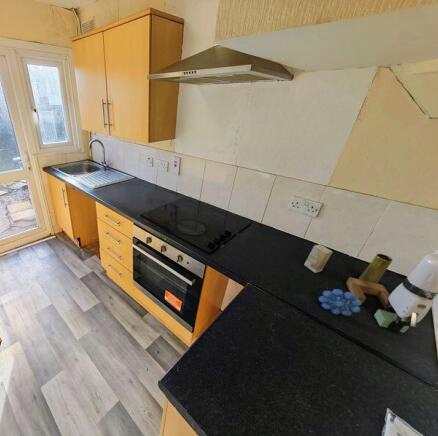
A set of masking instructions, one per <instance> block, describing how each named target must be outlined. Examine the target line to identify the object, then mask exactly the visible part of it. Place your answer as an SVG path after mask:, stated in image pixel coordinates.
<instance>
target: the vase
mask: <svg viewBox="0 0 438 436" xmlns="http://www.w3.org/2000/svg"><path fill="white" fill-rule="evenodd" d="M392 263H393V258H392V257H391V256H390V255H387V254H384V253H376V254H375V256H374V257H373V259H372V261H370V263H369V264H368V265H367V267H366V268H365V270H364V271H363V272H362V274H361V275H360V276H359V277H358V279H360V280H364V281H368V282H372V283H376V284H379V282H380V280H381V279H382V277H383V276H384V274H385V272H386V271H387V269H388V268H389V267H390V265H391V264H392Z"/></svg>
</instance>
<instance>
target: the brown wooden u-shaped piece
mask: <svg viewBox="0 0 438 436" xmlns="http://www.w3.org/2000/svg"><path fill="white" fill-rule="evenodd" d="M345 284H346V286H347V289H348V290H349V292H351V293H353V294H354V296H355V297H354V298H356V299H359V300H360V301H361V303H362V304H364V302H365V301H366V299H367V297H366V296H365V294H367V295H371V296H374V297H377V299H378V300H379V302H380V304H381V305H382V307H383V309H385V308H386V305H387V304H388V295H389V294H390V293H389V292H388V290H387V289H386V287H385V285H384V284H380V283H377V284H376V283H372V282H368V281H364V280H360V279H359V278H355V277H351V276H349V277H348V278H347V280H346V282H345Z"/></svg>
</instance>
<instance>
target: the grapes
mask: <svg viewBox="0 0 438 436" xmlns="http://www.w3.org/2000/svg"><path fill="white" fill-rule="evenodd" d="M354 297H355V296H354V294H353V293H351V292H350V291H346V292H344V291H343V290H342V289H339V288H335V289H333V290H332V291H331V290H323V292H322V295H321V296H319V297H318V301H319V302H320V303H321V307H322V309H324V310H329V311H330V313H331V314H332V315H340V314H342V315H343V316H345V317H349V316H351V315H353V313H355V314H356V313H360V312H361V307H360V306H361V305H363V303H361V301H360V300H359V299H356V298H354Z"/></svg>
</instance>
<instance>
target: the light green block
mask: <svg viewBox="0 0 438 436" xmlns="http://www.w3.org/2000/svg"><path fill="white" fill-rule="evenodd" d="M397 316H398V314H397V313H396V314H395V313H391V312H387V311H384V309H383V310H382V309H381V308H380V309H379V308H378V310H376V312H375V314H374V318H375V320H376V322H377V323H378V325H379V326H380V327H383V328H387V329H388V326H389V325H390V324H391V323H392V321H393V320H394V321H395V320H396V318H397ZM401 321H405V319H401ZM408 329H410V327H409V326H404V327H403V328H402V329H401V330H400V331H399V332H400V333H403V334H405V332H407V330H408Z"/></svg>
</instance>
